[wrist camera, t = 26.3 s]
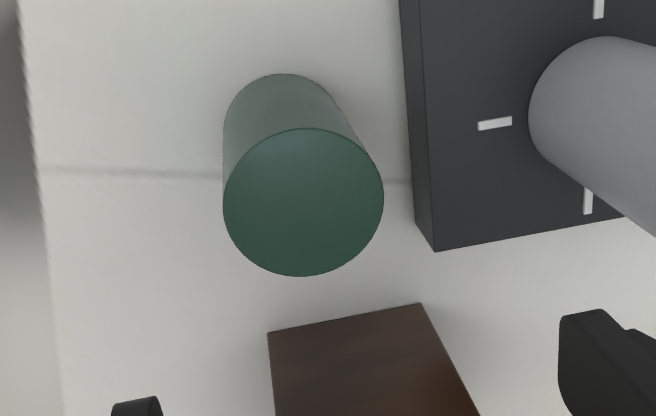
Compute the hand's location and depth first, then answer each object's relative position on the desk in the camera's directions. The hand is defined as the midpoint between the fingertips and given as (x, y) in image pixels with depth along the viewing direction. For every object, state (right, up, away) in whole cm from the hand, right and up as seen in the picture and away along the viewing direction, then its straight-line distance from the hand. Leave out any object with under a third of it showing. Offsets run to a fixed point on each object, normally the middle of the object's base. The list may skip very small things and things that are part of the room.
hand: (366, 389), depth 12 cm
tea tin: (-3, +7, +15) cm, 17 cm away
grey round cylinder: (+10, +8, +13) cm, 18 cm away
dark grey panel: (+10, +9, +16) cm, 21 cm away
